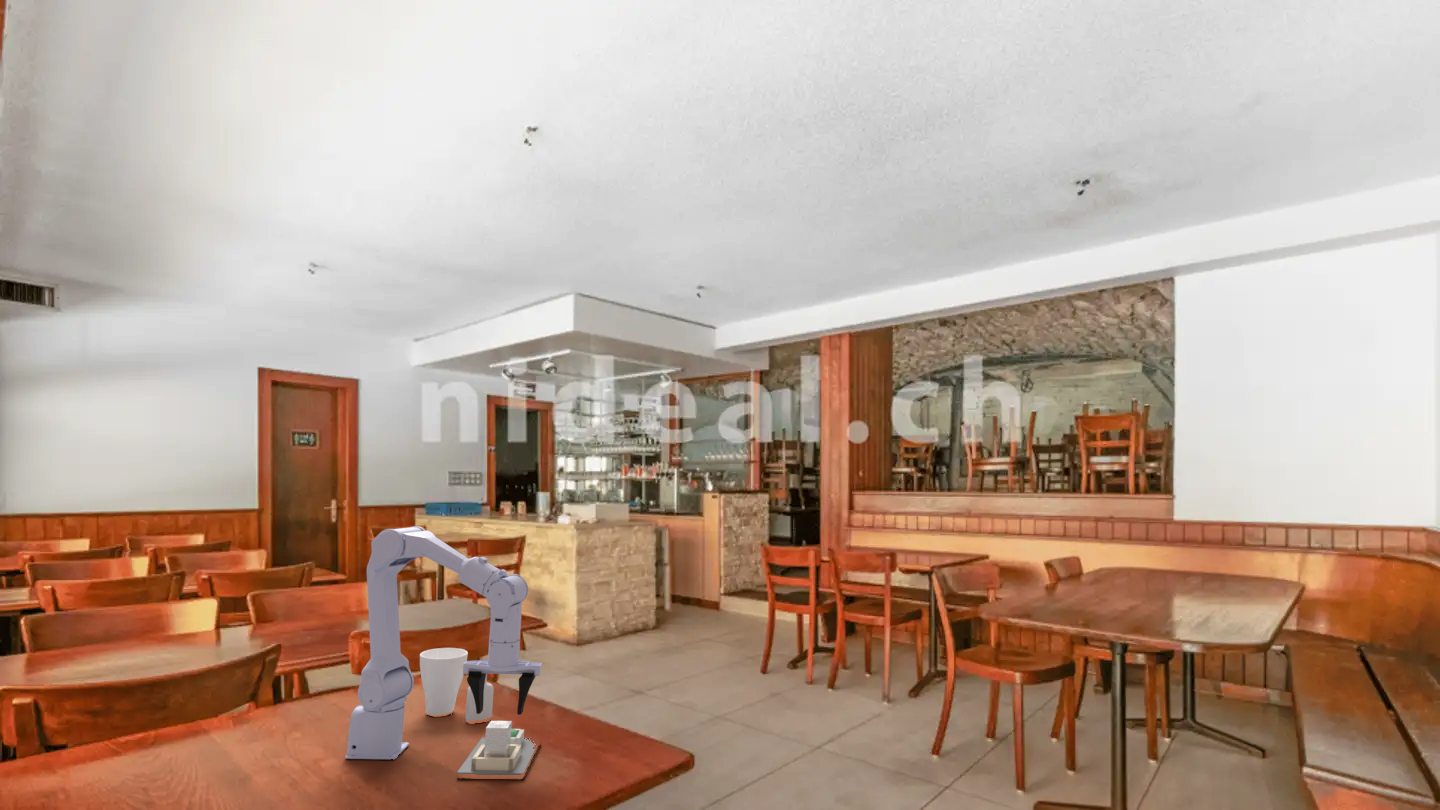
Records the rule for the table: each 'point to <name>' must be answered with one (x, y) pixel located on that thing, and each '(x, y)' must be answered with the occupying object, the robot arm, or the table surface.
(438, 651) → the cup
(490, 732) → the block
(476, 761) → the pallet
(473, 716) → the eye dropper bottle
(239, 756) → the table surface
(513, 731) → the button
